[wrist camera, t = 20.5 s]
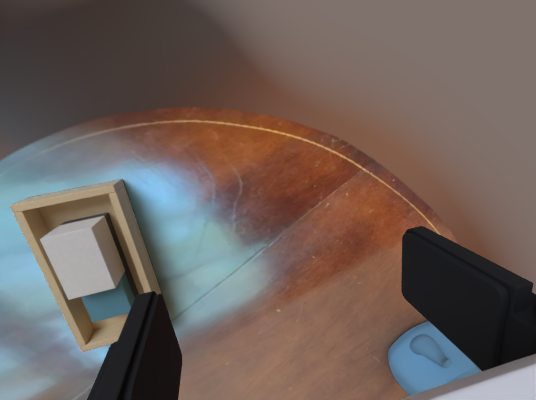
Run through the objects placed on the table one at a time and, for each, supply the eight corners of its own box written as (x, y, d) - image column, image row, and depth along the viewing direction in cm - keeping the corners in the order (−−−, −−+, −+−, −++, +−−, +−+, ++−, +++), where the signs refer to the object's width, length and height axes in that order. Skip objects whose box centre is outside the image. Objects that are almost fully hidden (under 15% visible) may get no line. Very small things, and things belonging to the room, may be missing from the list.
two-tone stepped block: (64, 221, 30) (39, 238, 25) (108, 212, 31) (91, 227, 26) (102, 309, 34) (86, 338, 29) (141, 299, 34) (131, 326, 30)
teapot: (489, 336, 35) (516, 409, 41) (426, 288, 45) (456, 353, 51) (409, 392, 35) (449, 457, 41) (364, 331, 45) (401, 391, 51)
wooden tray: (28, 197, 29) (9, 205, 26) (122, 178, 30) (113, 184, 28) (92, 333, 35) (81, 352, 32) (168, 312, 36) (164, 328, 33)
